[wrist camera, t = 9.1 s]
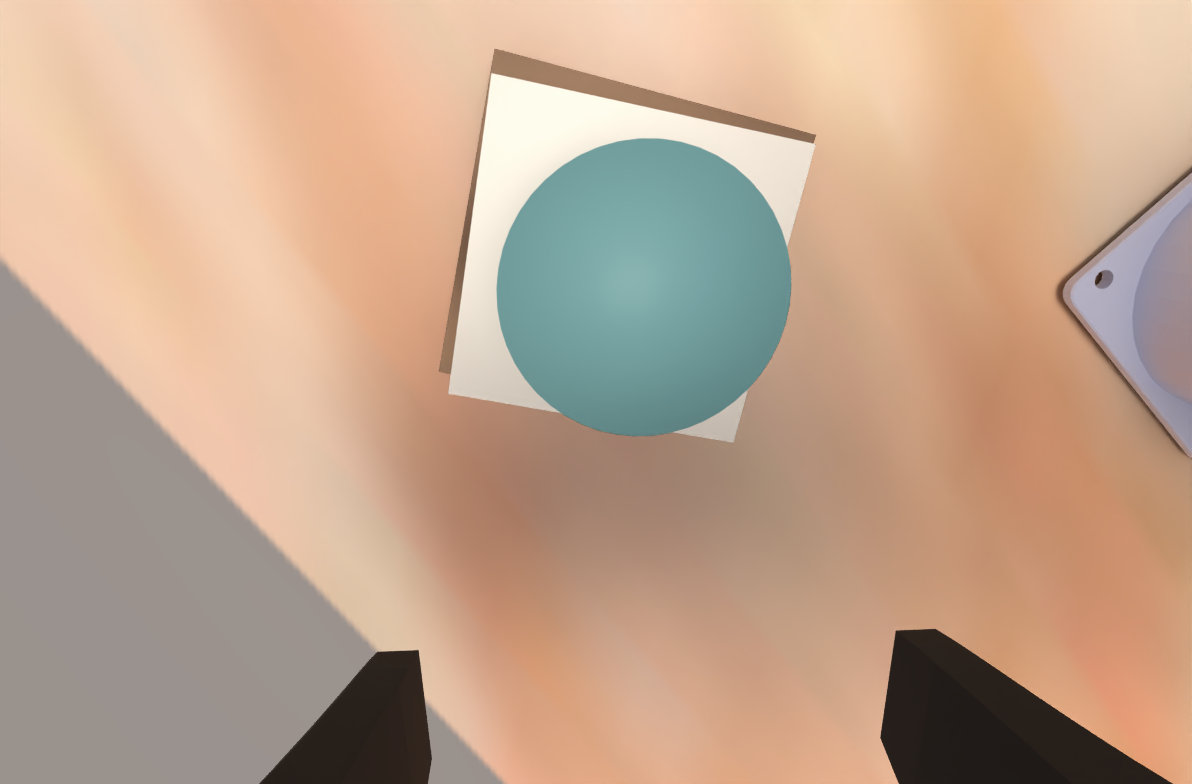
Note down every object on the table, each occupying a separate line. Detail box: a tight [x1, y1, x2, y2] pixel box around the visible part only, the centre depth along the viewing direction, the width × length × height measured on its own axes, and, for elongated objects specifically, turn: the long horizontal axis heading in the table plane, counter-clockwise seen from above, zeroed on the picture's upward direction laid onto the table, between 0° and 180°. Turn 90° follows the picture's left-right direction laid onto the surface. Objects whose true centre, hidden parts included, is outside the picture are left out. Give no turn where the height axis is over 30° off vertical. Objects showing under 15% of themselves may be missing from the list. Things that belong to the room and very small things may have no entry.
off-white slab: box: [448, 73, 816, 443], centre depth 16 cm, size 7×7×2 cm
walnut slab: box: [439, 49, 816, 374], centre depth 18 cm, size 8×8×2 cm
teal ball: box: [496, 138, 791, 436], centre depth 12 cm, size 5×5×5 cm
